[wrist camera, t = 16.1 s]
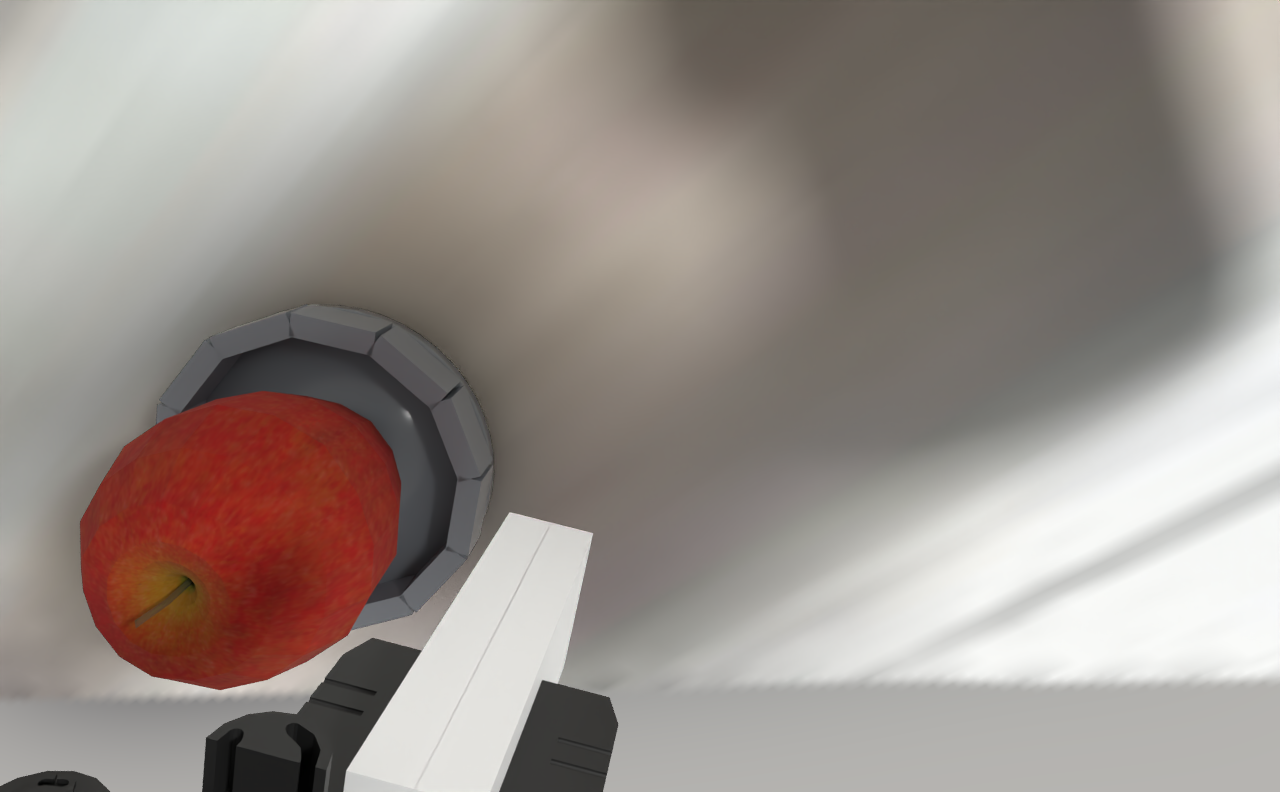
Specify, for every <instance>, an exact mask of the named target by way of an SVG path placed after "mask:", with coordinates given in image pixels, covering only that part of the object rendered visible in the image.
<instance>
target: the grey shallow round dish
mask: <svg viewBox="0 0 1280 792" xmlns="http://www.w3.org/2000/svg"><path fill="white" fill-rule="evenodd" d="M259 391H269V392H277V393H286V394H294V395H303V396H309V397H313V398H318V399H322V400H326V401H331V402H335V403H339V404H342V405H343V406H345V407H347V408H349V409H350V410H352V411H354V412H356V413H357V414H359V415H361V416H363V417H364V418H366V419H368V420H370V421H371V422H372V423H373V425H374V426H375V427H376V429H377V430H378V431H379V433H380V434H381V435H382V437H383V438H384V439H385V441H386V442H387V444H388V445H389V446H390V448H391V449H392V451H393V454H394V458H395V461H396V465H397V469H398V472H399V476H400V479H401V495H400V509H399V524H398V539H397V554H396V556H395V558H394V559H393V561H392V562H391V564H390V565H389V567H388V569H387V570H386V572H385V573H384V575H383V576H382V578H381V580H380V581H379V583H378V584H377V586H376V588H375V589H374V591H373V592H372V594H371V595H370V597H369V599H368V601H367V602H366V604H365V606H364V608H363V609H362V611H361V613H360V615H359V616H358V618H357V620H356V622H355V623H354V625H353V627H352V629H351V630H354V629H358V628H362V627H366V626H370V625H374V624H378V623H382V622H386V621H389V620H393V619H397V618H401V617H405V616H409V615H412V614H413V612H414V611H415V612H417V611H418V610H419V609H420V608H421V607H422V606H423V605H424V604H425V603H426V602H427V601H428V600H429V599H430V597H431V596H432V595H433V594H434V593H435V592H436V591H437V590H438V589H439V588H440V587H441V586H442V585H443V584H444V583H445V582H446V581H447V580H448V579H449V578H450V577H451V576H452V574H453V573H454V572H455V571H456V570H457V569H458V568H459V567H460V566H461V565H462V564H463V563H464V562H465V561H466V560H467V558H468V556H469V555H470V553H471V551H472V550H473V548H474V546H475V545H476V543H477V541H478V539H479V537H480V534H481V529H482V523H483V520H484V517H485V515H486V512H487V510H488V506H489V502H490V498H491V494H492V488H493V479H494V454H493V448H492V442H491V436H490V432H489V429H488V426H487V422H486V419H485V416H484V414H483V411H482V409H481V407H480V405H479V403H478V400H477V398H476V396H475V395H474V393H473V391H472V390H471V388H470V386H469V385H468V383H467V381H466V380H465V378H464V377H463V376H462V375H461V373H460V372H459V371H458V370H457V368H456V367H455V366H454V365H453V363H452V362H451V361H450V360H449V359H448V358H447V357H446V356H445V355H444V354H443V353H442V352H441V351H440V350H439V349H438V348H437V347H435V346H434V345H433V344H431V343H430V342H429V341H428V340H426V339H425V338H424V337H422V336H421V335H420V334H418V333H416V332H415V331H413V330H411V329H410V328H408V327H406V326H405V325H403V324H401V323H399V322H397V321H395V320H392V319H390V318H388V317H386V316H383V315H381V314H377V313H374V312H371V311H367V310H364V309H360V308H354V307H348V306H342V305H316V304H311V305H307V304H305V305H302V306H299V307H296V308H293V309H289V310H285V311H281V312H278V313H276V314H273V315H271V316H268V317H265V318H262V319H259V320H256V321H252V322H249V323H246V324H243V325H240V326H237V327H234V328H231V329H229V330H226V331H224V332H221V333H219V334H216V335H214V336H211V337H209V339H207V340H205V341H204V342H203V343H202V344H201V346H200V347H199V348H198V350H197V351H196V352H195V354H194V355H193V356H192V358H191V359H190V360H189V361H188V363H187V364H186V365H185V367H184V368H183V369H182V371H181V372H180V373H179V374H178V376H177V377H176V378H175V380H174V381H173V382H172V384H171V385H170V386H169V388H168V389H167V390H166V391H165V393H164V394H163V395H162V397H161V398H160V399H159V400H160V401H161V402H162V403H160V404H158V405H157V417H156V425H157V424H158V423H159V422H161V421H162V420H164V419H166V418H169V417H171V416H174V415H177V414H179V413H182V412H184V411H187V410H190V409H192V408H195V407H198V406H200V405H203V404H205V403H208V402H211V401H213V400H216V399H220V398H226V397H231V396H237V395H242V394H248V393H253V392H259Z"/></svg>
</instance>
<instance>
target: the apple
mask: <svg viewBox="0 0 1280 792" xmlns="http://www.w3.org/2000/svg"><path fill="white" fill-rule="evenodd" d="M400 495H401V479H400V476H399V472H398V469H397V465H396V461H395V458H394V454H393V451H392V449H391V448H390V446H389V445H388V444H387V442H386V441H385V439H384V438H383V437H382V435H381V434H380V433H379V431H378V430H377V429H376V427H375V426H374V425H373V423H372V422H371V421H370V420H368V419H366V418H364V417H363V416H361V415H359V414H357V413H356V412H354V411H352V410H350V409H349V408H347V407H345V406H343V405H342V404H339V403H335V402H331V401H326V400H322V399H318V398H313V397H309V396H303V395H294V394H286V393H277V392H269V391H259V392H253V393H248V394H242V395H237V396H231V397H226V398H220V399H216V400H213V401H211V402H208V403H205V404H203V405H200V406H198V407H195V408H192V409H190V410H187V411H184V412H182V413H179V414H177V415H174V416H171V417H169V418H166V419H164V420H162V421H161V422H159V423H158V424H157V425H155V426H154V427H152V428H151V429H149V430H148V431H146V432H145V433H143V434H142V435H140V436H139V437H137V438H136V439H134V440H133V441H132V442H130V443H129V444H127V445H126V446H124V448H123V449H122V451H121V452H120V454H119V456H118V457H117V459H116V460H115V462H114V464H113V465H112V467H111V468H110V470H109V471H108V473H107V475H106V476H105V478H104V479H103V481H102V483H101V484H100V486H99V488H98V490H97V492H96V493H95V495H94V497H93V499H92V501H91V503H90V504H89V506H88V508H87V510H86V512H85V514H84V515H83V517H82V519H81V521H80V543H81V573H82V583H83V592H84V594H85V597H86V600H87V603H88V606H89V609H90V611H91V614H92V617H93V620H94V623H95V626H96V627H97V628H98V630H99V631H100V632H101V634H102V635H103V636H104V637H105V639H106V640H107V641H108V643H109V644H110V645H111V646H112V648H113V649H114V650H115V652H116V653H117V654H118V655H119V657H121V658H123V659H124V660H126V661H128V662H129V663H131V664H133V665H134V666H136V667H137V668H139V669H141V670H142V671H144V672H146V673H147V674H149V675H150V676H153V677H158V678H163V679H169V680H174V681H179V682H184V683H188V684H193V685H198V686H203V687H208V688H213V689H217V690H223V689H227V688H232V687H237V686H241V685H246V684H250V683H255V682H259V681H264V680H268V679H270V678H272V677H274V676H276V675H279V674H281V673H283V672H285V671H287V670H289V669H292V668H294V667H296V666H298V665H300V664H303V663H305V662H307V661H309V660H310V659H312V658H313V657H315V656H316V655H318V654H319V653H321V652H323V651H324V650H326V649H327V648H329V647H330V646H332V645H333V644H335V643H337V642H338V641H340V640H341V639H343V638H344V637H346V636H347V635H348V634H349V632H350V630H351V629H352V627H353V625H354V623H355V622H356V620H357V618H358V616H359V615H360V613H361V611H362V609H363V608H364V606H365V604H366V602H367V601H368V599H369V597H370V595H371V594H372V592H373V591H374V589H375V588H376V586H377V584H378V583H379V581H380V580H381V578H382V576H383V575H384V573H385V572H386V570H387V569H388V567H389V565H390V564H391V562H392V561H393V559H394V558H395V556H396V554H397V539H398V524H399V509H400Z"/></svg>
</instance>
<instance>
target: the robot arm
mask: <svg viewBox="0 0 1280 792" xmlns="http://www.w3.org/2000/svg"><path fill="white" fill-rule="evenodd" d="M592 536H593V533H591V532H587V531H583V530H579V529H575V528H571V527H567V526H563V525H559V524H555V523H551V522H547V521H543V520H539V519H535V518H531V517H527V516H523V515H519V514H515V513H511V512H509V514H508V516H507V517H506V519H505V520H504V522H503V523H502V525H501V527H500V528H499V530H498V531H497V533H496V535H495V536H494V538H493V539H492V541H491V542H490V544H489V546H488V547H487V549H486V550H485V552H484V554H483V555H482V557H481V558H480V560H479V561H478V563H477V565H476V566H475V568H474V569H473V571H472V573H471V574H470V576H469V577H468V579H467V580H466V582H465V584H464V585H463V587H462V588H461V590H460V591H459V593H458V595H457V596H456V598H455V599H454V601H453V603H452V604H451V606H450V607H449V609H448V610H447V612H446V614H445V615H444V617H443V618H442V620H441V622H440V623H439V625H438V626H437V628H436V629H435V631H434V633H433V634H432V636H431V637H430V639H429V641H428V642H427V644H426V645H425V647H424V648H423V650H422V651H421V650H417V649H413V648H409V647H405V646H401V645H398V644H394V643H390V642H386V641H382V640H379V639H375V638H372V639H370V640H368V641H366V642H364V643H363V644H361V645H359V646H357V647H356V648H354V649H352V650H350V651H349V652H347V653H345V654H343V655H342V657H341V658H340V659H339V661H338V662H337V663H336V664H335V666H334V667H333V668H332V670H331V671H330V672H329V673H328V675H327V676H326V677H325V680H324V682H323V683H321V684H320V685H319V686H318V688H317V689H316V690H315V692H314V693H313V694H312V695H311V697H310V700H309V702H306V703H305V704H304V706H303V707H302V708H301V710H300V711H299V712H298V713H297V714H289V713H282V712H273V711H272V712H264V713H256V714H248V715H245V716H243V717H240V718H238V719H235V720H232V721H230V722H227V723H225V724H223V725H222V726H221V727H219V728H218V729H217V730H216V731H214V732H213V733H212V734H211V735H209V736H208V737H207V738H206V749H205V761H204V777H203V789H202V792H603V788H604V784H605V779H606V775H607V771H608V767H609V762H610V758H611V754H612V750H613V745H614V741H615V736H616V732H617V728H618V722H617V719H616V716H615V713H614V710H613V707H612V704H611V701H610V698H609V697H606V696H602V695H598V694H594V693H590V692H586V691H583V690H579V689H575V688H571V687H567V686H564V685H560V684H558V682H559V679H560V676H561V673H562V671H563V668H564V665H565V660H566V656H567V651H568V646H569V642H570V637H571V633H572V628H573V624H574V619H575V614H576V610H577V605H578V601H579V596H580V591H581V587H582V582H583V578H584V573H585V569H586V564H587V559H588V555H589V550H590V546H591V541H592ZM0 792H110V791H109V790H108V789H107V788H106V787H105V786H104V785H103V784H102V783H101V782H99V780H97V779H96V778H94V777H91V776H87V775H84V774H81V773H78V772H74V771H46V772H41V773H37V774H33V775H28V776H25V777H20V778H17V779H14V780H12V781H11V782H8V783H6V784H4V785H2V786H0Z"/></svg>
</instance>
